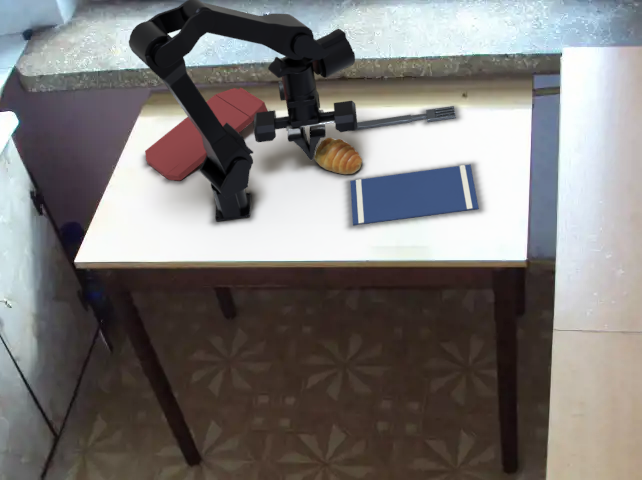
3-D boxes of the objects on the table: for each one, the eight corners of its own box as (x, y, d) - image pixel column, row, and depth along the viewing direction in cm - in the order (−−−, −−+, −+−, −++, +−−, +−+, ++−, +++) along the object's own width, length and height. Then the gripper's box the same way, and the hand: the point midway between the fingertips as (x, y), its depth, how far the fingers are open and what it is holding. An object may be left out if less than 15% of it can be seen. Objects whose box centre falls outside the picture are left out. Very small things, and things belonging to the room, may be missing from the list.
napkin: (478, 209, 165) (478, 207, 164) (353, 225, 168) (352, 223, 167) (470, 165, 172) (470, 164, 172) (350, 182, 175) (350, 180, 175)
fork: (455, 118, 182) (455, 115, 182) (355, 132, 184) (355, 129, 184) (453, 108, 184) (453, 105, 184) (354, 122, 186) (354, 120, 186)
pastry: (371, 162, 178) (369, 146, 175) (347, 182, 175) (344, 166, 172) (335, 146, 183) (332, 129, 180) (311, 165, 180) (308, 149, 177)
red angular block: (182, 197, 186) (276, 120, 191) (172, 179, 182) (268, 101, 187) (149, 172, 193) (241, 98, 198) (139, 154, 189) (233, 79, 194)
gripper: (350, 55, 171) (358, 127, 183) (248, 68, 173) (263, 139, 185) (353, 90, 164) (361, 163, 176) (247, 104, 166) (262, 175, 178)
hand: (311, 158), depth 179 cm, fingers closed
